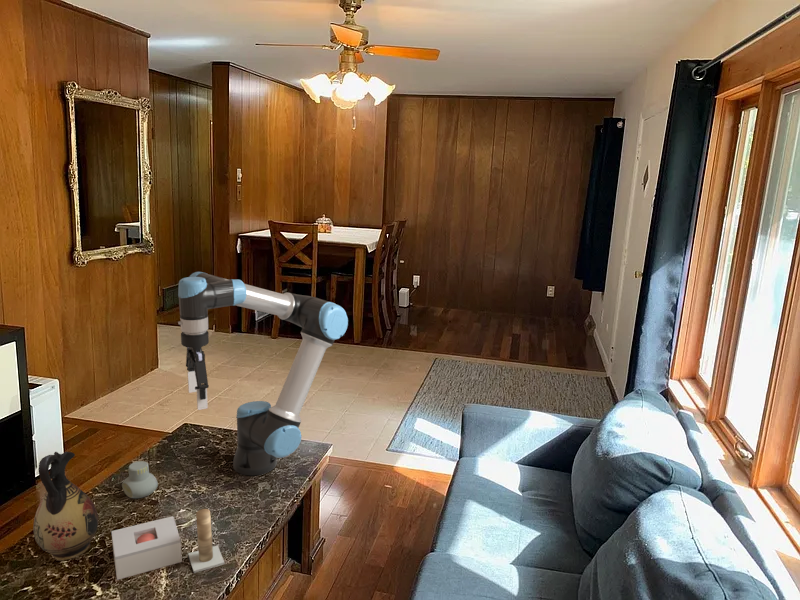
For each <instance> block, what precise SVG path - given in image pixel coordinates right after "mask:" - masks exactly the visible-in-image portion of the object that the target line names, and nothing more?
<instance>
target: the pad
mask: <svg viewBox="0 0 800 600" xmlns="http://www.w3.org/2000/svg"><path fill="white" fill-rule="evenodd" d="M212 549H213V558H212V559H211V560H210V561H208V562H201V561H200V560H199V550H196V551H192V552H188V553H187V557H188V560H189V563H190V565H191V568H192V572H193V573H194V574H195V573H198V572H202V571H206V570H209V569H212V568H213V569H214V568H217V567H219V566H223V565H225V560H224V558H223V555H222V553H221V549H220V547H219V545H218V544H217V545H212Z"/></svg>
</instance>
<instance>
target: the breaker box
mask: <svg viewBox="0 0 800 600" xmlns="http://www.w3.org/2000/svg"><path fill="white" fill-rule="evenodd" d="M147 533H150V534H153V535H154V536H155V539H154V540H150V541H146V542H142V543H138V544H137V539H138V537H139V536H141V535H143V534H147ZM179 533H180V532H179V531H178V527H177V523H176V519H175V517H174V516H168V517H163V518H159V519H156V520H152V521H148V522H143V523H139V524H135V525H132V526H131V525H130V526H127V527H122V528H120V529H115V530H111V541H112V552H113V561H114V565H115V566H114V567H115V575H116V581H118V580H122V579H125V578H130V577H132V576H137V575H140V574H142V573H147V572H151V571H154V570H158V569H161V568H166V567H168V566H171V565H176V564H179V563H182V562H183V559H182V543H181V542H182V541H181V537H180V534H179Z"/></svg>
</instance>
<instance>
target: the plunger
mask: <svg viewBox="0 0 800 600" xmlns="http://www.w3.org/2000/svg"><path fill="white" fill-rule="evenodd" d="M154 539H155V536H154V535H153V534H150V533H147V534H143V535H141V536H139V537H138V539H137V544H138V543H142V542H146V541H150V540H154Z"/></svg>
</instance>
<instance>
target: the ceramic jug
mask: <svg viewBox="0 0 800 600" xmlns="http://www.w3.org/2000/svg"><path fill="white" fill-rule="evenodd" d="M75 456H76V454H75V453H74V452H71V451H64V452H63V453H59V452H58V451H54V453H53V454H48V455H45V456H44V457H42V458H41V459H40V461H39V462H38V476H39V479H40V481H41V483H42V485H43V486H44V488H45V491H46V493H45V494H44V495H43V497H42V499H41V501H40V503H39V505H38V507H37V509H36V512H35V514H34V515H35V516H34V519H33V535H34V540H35V542H36V544H37V545H38V547H40V548H41V550H42V551H45V552H46V553H48V554H50V555H51V556H52V557H53V558H54V559H55V560H57V561H59V562H62V561H65V560H70V559H74V558H76V557H78V556H82V555H83V554H85V553H86V551H88V549H89V548H90V547H91V545H92V544H91V541H92V540H93V539H94V537H95V535H96V532H97V531H98V527H99V516H98V511H97V508H96V506H95V504H94V501H93V500H91V498H90V496H88V495H87V493H85V492H84V491H83V490H82V489H81V488H80V487H79V486H78V485H76V484H75V483H73V482H72V481H70V479H68V477H67V476H66V467H67V465H68V463H69V462H70V460H72V459H73V458H74V457H75Z"/></svg>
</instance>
